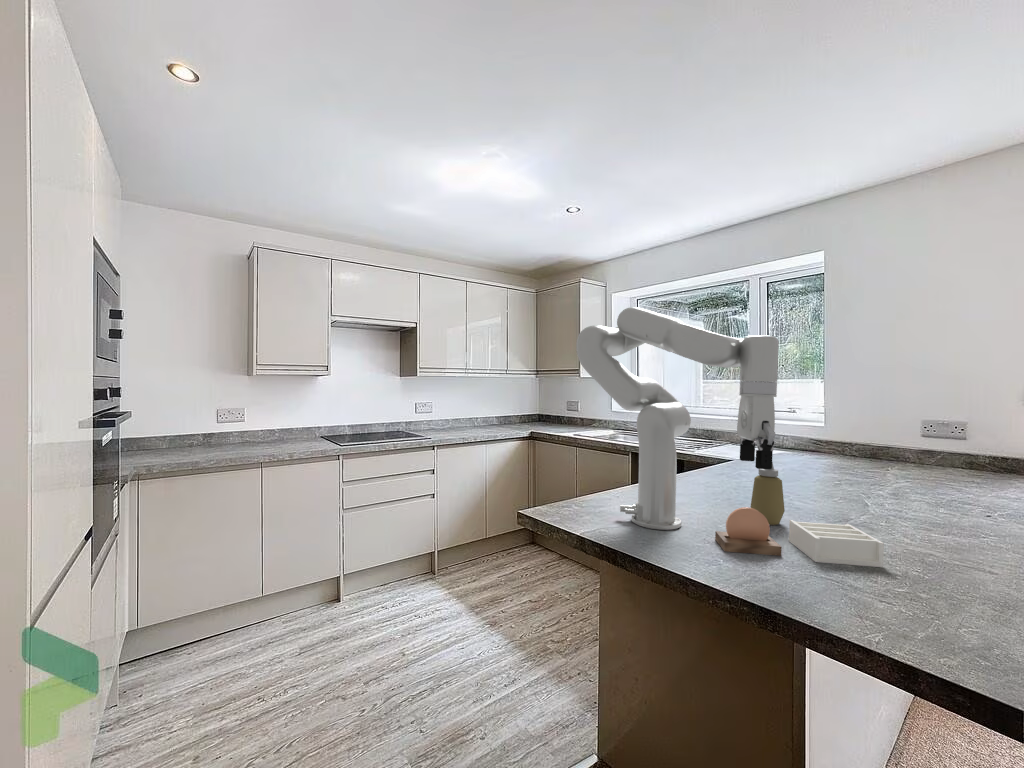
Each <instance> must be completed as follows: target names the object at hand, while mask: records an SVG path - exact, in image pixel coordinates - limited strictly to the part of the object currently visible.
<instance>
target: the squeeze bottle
mask: <svg viewBox="0 0 1024 768" xmlns="http://www.w3.org/2000/svg"><path fill="white" fill-rule="evenodd" d="M784 500H785V499H784V488H783V480H782V479H781V478H780V477H779V470H778V469H776V468H774V463H773V461H772V469H758V475H756V476H755V477H754V479H753V487H752V494H751V500H750V501H751V502H750V508H753V509H756V510H757V511H759V512H760V513H762V514H763V515H764V516H765V517H766V519H767V520H768V523H769V526H772V525H773V526H776V525H780V523H781V521H782V519H783V517H784V516H783V515H784V514H785V502H784Z"/></svg>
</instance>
